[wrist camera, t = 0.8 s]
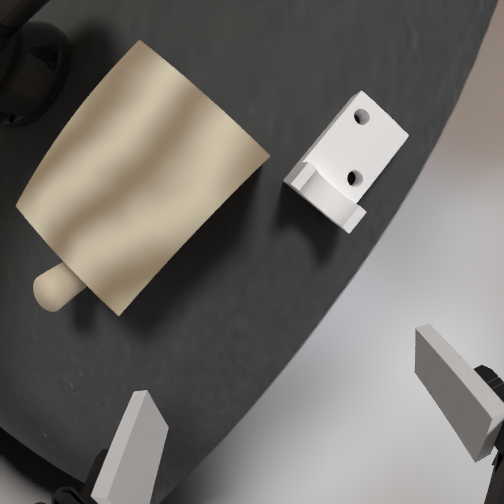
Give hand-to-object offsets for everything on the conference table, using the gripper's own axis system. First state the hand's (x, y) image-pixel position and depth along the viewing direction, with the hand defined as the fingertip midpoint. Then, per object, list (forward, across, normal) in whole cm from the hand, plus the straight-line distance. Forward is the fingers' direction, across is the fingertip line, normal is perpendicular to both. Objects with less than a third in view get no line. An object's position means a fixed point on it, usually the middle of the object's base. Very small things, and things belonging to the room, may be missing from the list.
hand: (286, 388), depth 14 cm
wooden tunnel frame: (+24, -9, +11) cm, 28 cm away
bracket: (+24, +11, +8) cm, 28 cm away
